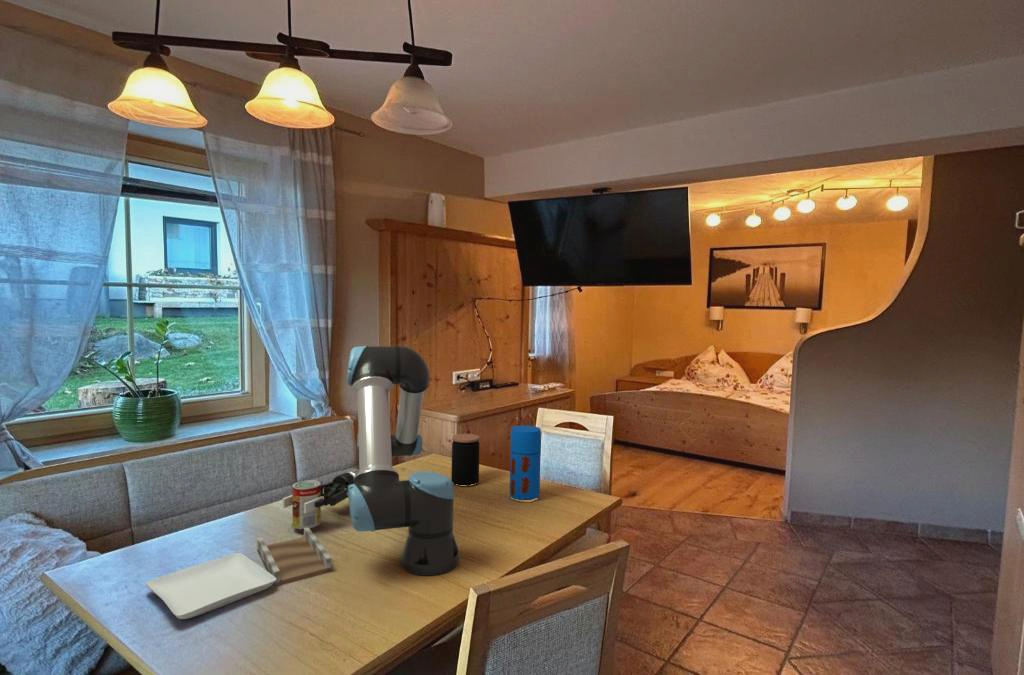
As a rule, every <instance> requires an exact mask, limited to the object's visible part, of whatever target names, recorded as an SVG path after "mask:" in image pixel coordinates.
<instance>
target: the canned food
mask: <svg viewBox="0 0 1024 675" xmlns="http://www.w3.org/2000/svg"><path fill="white" fill-rule="evenodd" d="M320 482H321V481H319V480H314V479H311V480H309V479H308V480H301V481H297V482H295V483H293V484H292V495H293V502H292V505H291V506H292V510H291V511H292V522H291V524H292V525H291V526H292V527H293V528H294V529H296V530H297V529H298V530H304V528H309V529H312V528H316V527H318V526H319V525H320V524H321V521H322V520H321V517H322V516H321V515H322V514H321V513H322V512H321V511H322V510H321V509H322V506H321V507H319V508H317V509H314V510H312V511H310V512H308V513H304V503H307V502H309V501H311V500H314V499H316V498H319V497H321V483H320Z"/></svg>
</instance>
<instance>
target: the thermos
mask: <svg viewBox="0 0 1024 675" xmlns="http://www.w3.org/2000/svg"><path fill="white" fill-rule="evenodd" d="M541 448H542V430H541V427H538V426H533V425H516V426H513V427H511V431H510V454H509V455H510V460H509V461H510V462H509V464H510V466H509V467H510V468H509V497H510V496H511V497H512V498H514V499H518V500H532V499H535V498H538V496H539V497H540V489H541V488H540V486H541V457H542V456H541V454H542V453H541Z"/></svg>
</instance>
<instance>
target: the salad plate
mask: <svg viewBox="0 0 1024 675" xmlns="http://www.w3.org/2000/svg"><path fill="white" fill-rule="evenodd" d="M275 581H276V578H275V577H274V576H273V575H272V574H270V573H269V572H267V570H266V568H264V567H262V566H260V565H259V564H257V563H256V562H255V561H253V560H251V559H250V558H248V557H247V556H246V555H244V554H243V553H241V552H236V553H235V552H234V553H231V554H229V555H225V556H223V557H218V558H216V559H212V560H210V561H206V562H203V563H200V564H197V565H194V566H191V567H187V568H184V569H181V570H178V571H175V572H172V573H168V574H166V575H162V576H159V577H157V578H154V579H150V580H148V581H147V582H146V583H145V586H146V587H147V588H148V589H149V590H150V591H151V592H152V593H154V595H156V596H158V597H159V599H161V601H162V602H163V603H164V604H165V605H166V606H167V608H168V609H169V610H170V612H171V613H172V614H173V615H174V616H175V617H176V618H177V619H179V620H180V619H181V620H186V619H192V618H194V617H197V616H201V615H203V613H204V614H206V612H207V613H209V612H211V611H214V610H217V609H219V608H222V607H224V606H227V605H230V604H232V603H234V602H237V601H239V600H242V599H244V598H247V597H249V596H252V595H254V594H257V593H260V592H262V591H265V590H266V589H268V588H269V587H271V586H273V583H274V582H275Z"/></svg>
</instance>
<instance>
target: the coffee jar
mask: <svg viewBox="0 0 1024 675" xmlns="http://www.w3.org/2000/svg"><path fill="white" fill-rule="evenodd" d="M480 438H481V437H480V436H479V435H478V434H473V433H458V434H457V433H456V434H454V435H452V437H451V440H452V443H451V476H450V477H451V478H450V479H451V480H452V482H453V483H454V484H458V485H471V484H475V483H477V484H478V483H479V481H480V442H479V441H480ZM454 484H453V485H454Z"/></svg>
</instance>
